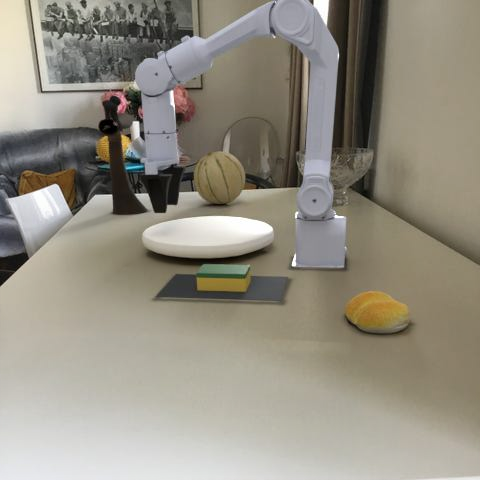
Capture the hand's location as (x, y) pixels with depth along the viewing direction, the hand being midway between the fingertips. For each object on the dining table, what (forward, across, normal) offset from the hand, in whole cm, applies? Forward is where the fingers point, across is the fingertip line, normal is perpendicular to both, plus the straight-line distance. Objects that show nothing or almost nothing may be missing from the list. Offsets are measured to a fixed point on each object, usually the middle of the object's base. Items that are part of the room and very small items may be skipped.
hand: (166, 208), depth 107 cm
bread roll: (+10, +28, +38) cm, 48 cm away
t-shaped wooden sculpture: (+10, -46, -25) cm, 53 cm away
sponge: (+10, +16, +14) cm, 23 cm away
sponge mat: (+10, +16, +14) cm, 24 cm away
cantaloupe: (+10, -58, -2) cm, 59 cm away
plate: (+10, -8, +6) cm, 14 cm away
